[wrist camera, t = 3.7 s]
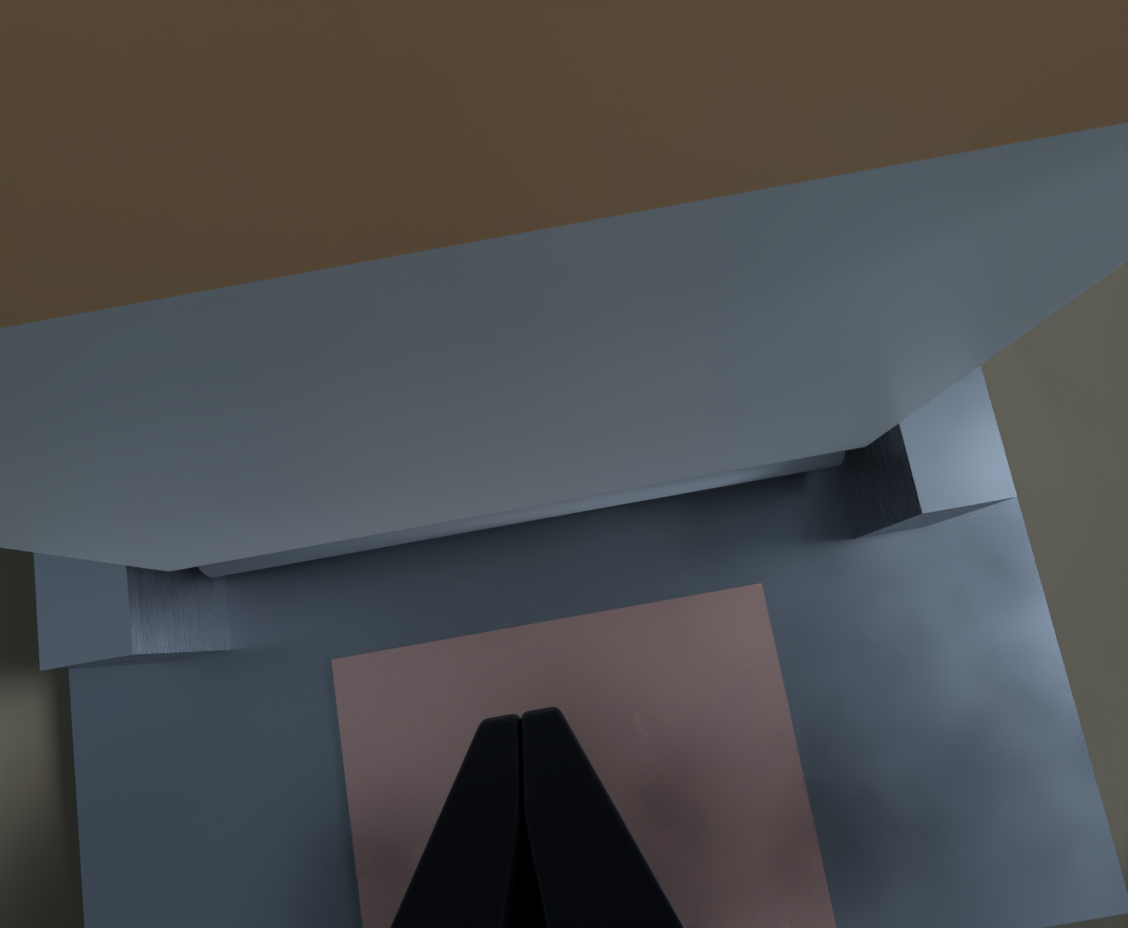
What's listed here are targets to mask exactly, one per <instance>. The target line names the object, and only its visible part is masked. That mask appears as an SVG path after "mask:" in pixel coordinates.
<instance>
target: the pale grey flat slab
mask: <svg viewBox="0 0 1128 928" xmlns="http://www.w3.org/2000/svg"><path fill="white" fill-rule="evenodd" d="M1126 261H1128V0H0V548H6V549H14V550H21V551H28V552H35V553H42V554H49V555H56V556H63V557H70V558H77V559H84V560H91V561H98V562H105V563H112V564H119V565H126V566H133V567H140V568H148V569H155V570H162V571H175V570H180V569H186V568H191V567H197V566H198V567H199V569H200V570H201V571H202V572H203V573H204V574H205V575H206V576H208V577H211V578H214V577H219V576H225V575H231V574H236V573H242V572H247V571H253V570H259V569H264V568H270V567H275V566H281V565H287V564H292V563H298V562H303V561H309V560H314V559H320V558H326V557H331V556H337V555H342V554H348V553H354V552H359V551H365V550H370V549H376V548H382V547H387V546H393V545H398V544H404V543H409V542H415V541H421V540H426V539H432V538H437V537H443V536H449V535H454V534H460V533H465V532H471V531H477V530H482V529H488V528H493V527H499V526H504V525H510V524H516V523H521V522H527V521H532V520H538V519H544V518H549V517H555V516H560V515H566V514H572V513H577V512H583V511H588V510H594V509H599V508H605V507H611V506H616V505H622V504H627V503H633V502H639V501H644V500H650V499H655V498H661V497H667V496H672V495H678V494H683V493H689V492H695V491H700V490H706V489H711V488H717V487H722V486H728V485H734V484H739V483H745V482H750V481H756V480H762V479H767V478H773V477H778V476H784V475H790V474H795V473H801V472H806V471H812V470H817V469H823V468H829V467H834V466H839V465H841V464H842V462H843V460H844V456H845V451H846V450H850V449H856V448H861V447H866V446H868V445H869V444H870V443H872V442H873V441H875V440H876V439H877V438H879V437H880V436H882V435H883V434H884V433H886V432H887V431H889V430H890V429H891V428H893V427H894V426H896V425H897V424H899V423H900V422H901V421H903V420H904V419H906V418H907V417H908V416H910V415H911V414H913V413H914V412H915V411H917V410H918V409H920V408H921V407H922V406H924V405H925V404H927V403H928V402H929V401H931V400H932V399H934V398H935V397H937V396H938V395H939V394H941V393H942V392H944V391H945V390H946V389H948V388H949V387H951V386H952V385H953V384H955V383H956V382H958V381H959V380H960V379H962V378H963V377H965V376H966V375H967V374H969V373H970V372H972V371H973V370H975V369H976V368H977V367H979V366H980V365H982V364H983V363H984V362H986V361H987V360H989V359H990V358H991V357H993V356H994V355H996V354H997V353H998V352H1000V351H1001V350H1003V349H1004V348H1005V347H1007V346H1008V345H1010V344H1011V343H1013V342H1014V341H1015V340H1017V339H1018V338H1020V337H1021V336H1022V335H1024V334H1025V333H1027V332H1028V331H1029V330H1031V329H1032V328H1034V327H1035V326H1036V325H1038V324H1039V323H1041V322H1042V321H1043V320H1045V319H1046V318H1048V317H1049V316H1050V315H1052V314H1053V313H1055V312H1056V311H1058V310H1059V309H1060V308H1062V307H1063V306H1065V305H1066V304H1067V303H1069V302H1070V301H1072V300H1073V299H1074V298H1076V297H1077V296H1079V295H1080V294H1081V293H1083V292H1084V291H1086V290H1087V289H1088V288H1090V287H1091V286H1093V285H1094V284H1096V283H1097V282H1098V281H1100V280H1101V279H1103V278H1104V277H1105V276H1107V275H1108V274H1110V273H1111V272H1112V271H1114V270H1115V269H1117V268H1118V267H1119V266H1121V265H1122V264H1124V263H1125V262H1126Z"/></svg>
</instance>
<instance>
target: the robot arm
mask: <svg viewBox="0 0 1128 928" xmlns="http://www.w3.org/2000/svg"><path fill="white" fill-rule="evenodd" d="M390 928H685V927H684V925H683V923H682V921H681V920H680V918H679V916H678V914H677V913H676V911H675V909H674V907H673V906H672V904H671V902H670V900H669V899H668V897H667V895H666V893H665V892H664V890H663V888H662V886H661V885H660V883H659V881H658V879H657V878H656V876H655V874H654V872H653V871H652V869H651V867H650V865H649V864H648V862H647V860H646V858H645V857H644V855H643V853H642V851H641V850H640V848H639V846H638V844H637V843H636V841H635V839H634V837H633V836H632V834H631V832H630V830H629V829H628V827H627V825H626V823H625V822H624V820H623V818H622V816H621V815H620V813H619V811H618V809H617V808H616V806H615V804H614V802H613V801H612V799H611V797H610V795H609V794H608V792H607V790H606V788H605V787H604V785H603V783H602V781H601V780H600V778H599V776H598V774H597V773H596V771H595V769H594V767H593V766H592V764H591V762H590V760H589V759H588V757H587V755H586V753H585V752H584V750H583V748H582V746H581V745H580V743H579V741H578V739H577V738H576V736H575V734H574V732H573V731H572V729H571V727H570V725H569V724H568V722H567V720H566V718H565V717H564V715H563V713H562V712H561V710H560V709H559V708H557V707H548V708H542V709H536V710H531V711H526V712H524V713H523V714H522V717H521V718H520V716H519V715H517V714H508V715H502V716H497V717H491V718H487V719H484V720H483V721H482V722H481V723H480V724H479V726H478V728H477V730H476V732H475V735H474V737H473V739H472V741H471V744H470V746H469V748H468V751H467V753H466V755H465V757H464V760H463V762H462V764H461V767H460V769H459V771H458V773H457V776H456V778H455V780H454V783H453V785H452V787H451V789H450V792H449V794H448V796H447V799H446V801H445V803H444V805H443V808H442V810H441V812H440V815H439V817H438V819H437V821H436V824H435V826H434V828H433V831H432V833H431V835H430V837H429V840H428V842H427V844H426V847H425V849H424V851H423V853H422V856H421V858H420V860H419V863H418V865H417V867H416V869H415V872H414V874H413V876H412V879H411V881H410V883H409V885H408V888H407V890H406V892H405V895H404V897H403V899H402V902H401V904H400V906H399V908H398V911H397V913H396V915H395V918H394V920H393V922H392V924H391V927H390Z"/></svg>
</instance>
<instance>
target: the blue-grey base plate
mask: <svg viewBox="0 0 1128 928" xmlns="http://www.w3.org/2000/svg"><path fill="white" fill-rule="evenodd" d="M34 571H35V589H36V607H37V626H38V644H39V663H40V671H46V670H61V669H69V684H70V700H71V717H72V733H73V749H74V766H75V782H76V799H77V815H78V832H79V848H80V865H81V881H82V898H83V914H84V928H390V927H391V924H392V922H393V920H394V918H395V915H396V913H397V911H398V908H399V906H400V904H401V902H402V899H403V897H404V895H405V892H406V890H407V888H408V885H409V883H410V881H411V879H412V876H413V874H414V872H415V869H416V867H417V865H418V863H419V860H420V858H421V856H422V853H423V851H424V849H425V847H426V844H427V842H428V840H429V837H430V835H431V833H432V831H433V828H434V826H435V824H436V821H437V819H438V817H439V815H440V812H441V810H442V808H443V805H444V803H445V801H446V799H447V796H448V794H449V792H450V789H451V787H452V785H453V783H454V780H455V778H456V776H457V773H458V771H459V769H460V767H461V764H462V762H463V760H464V757H465V755H466V753H467V751H468V748H469V746H470V744H471V741H472V739H473V737H474V735H475V732H476V730H477V728H478V726H479V724H480V723H481V722H482V721H483V720H484V719H487V718H491V717H497V716H502V715H508V714H517V715H519V716H520V718H521V717H522V714H523V713H524V712H526V711H531V710H536V709H542V708H548V707H557V708H559V709H560V710H561V712H562V713H563V715H564V717H565V718H566V720H567V722H568V724H569V725H570V727H571V729H572V731H573V732H574V734H575V736H576V738H577V739H578V741H579V743H580V745H581V746H582V748H583V750H584V752H585V753H586V755H587V757H588V759H589V760H590V762H591V764H592V766H593V767H594V769H595V771H596V773H597V774H598V776H599V778H600V780H601V781H602V783H603V785H604V787H605V788H606V790H607V792H608V794H609V795H610V797H611V799H612V801H613V802H614V804H615V806H616V808H617V809H618V811H619V813H620V815H621V816H622V818H623V820H624V822H625V823H626V825H627V827H628V829H629V830H630V832H631V834H632V836H633V837H634V839H635V841H636V843H637V844H638V846H639V848H640V850H641V851H642V853H643V855H644V857H645V858H646V860H647V862H648V864H649V865H650V867H651V869H652V871H653V872H654V874H655V876H656V878H657V879H658V881H659V883H660V885H661V886H662V888H663V890H664V892H665V893H666V895H667V897H668V899H669V900H670V902H671V904H672V906H673V907H674V909H675V911H676V913H677V914H678V916H679V918H680V920H681V921H682V923H683V925H684V927H685V928H1045V927H1051V926H1057V925H1062V924H1068V923H1074V922H1080V921H1085V920H1091V919H1097V918H1103V917H1109V916H1114V915H1120V914H1126V913H1128V893H1127V889H1126V885H1125V882H1124V878H1123V875H1122V871H1121V868H1120V864H1119V860H1118V857H1117V853H1116V850H1115V846H1114V843H1113V839H1112V835H1111V832H1110V828H1109V825H1108V821H1107V817H1106V814H1105V810H1104V807H1103V803H1102V800H1101V796H1100V792H1099V789H1098V785H1097V782H1096V778H1095V775H1094V771H1093V767H1092V764H1091V760H1090V757H1089V753H1088V749H1087V746H1086V742H1085V739H1084V735H1083V732H1082V728H1081V724H1080V721H1079V717H1078V714H1077V710H1076V707H1075V703H1074V699H1073V696H1072V692H1071V689H1070V685H1069V682H1068V678H1067V674H1066V671H1065V667H1064V664H1063V660H1062V656H1061V653H1060V649H1059V646H1058V642H1057V639H1056V635H1055V631H1054V628H1053V624H1052V621H1051V617H1050V614H1049V610H1048V606H1047V603H1046V599H1045V596H1044V592H1043V588H1042V585H1041V581H1040V578H1039V574H1038V571H1037V567H1036V563H1035V560H1034V556H1033V553H1032V549H1031V546H1030V542H1029V538H1028V535H1027V531H1026V528H1025V524H1024V521H1023V517H1022V513H1021V510H1020V506H1019V503H1018V499H1017V494H1016V491H1015V487H1014V484H1013V480H1012V476H1011V473H1010V469H1009V466H1008V462H1007V458H1006V455H1005V451H1004V448H1003V444H1002V441H1001V437H1000V433H999V430H998V426H997V423H996V419H995V416H994V412H993V408H992V405H991V401H990V398H989V394H988V391H987V387H986V383H985V380H984V376H983V373H982V369H981V365H980V366H979V367H977V368H976V369H975V370H973V371H972V372H970V373H969V374H967V375H966V376H965V377H963V378H962V379H960V380H959V381H958V382H956V383H955V384H953V385H952V386H951V387H949V388H948V389H946V390H945V391H944V392H942V393H941V394H939V395H938V396H937V397H935V398H934V399H932V400H931V401H929V402H928V403H927V404H925V405H924V406H922V407H921V408H920V409H918V410H917V411H915V412H914V413H913V414H911V415H910V416H908V417H907V418H906V419H904V420H903V421H901V422H900V423H899V424H897V425H896V426H894V427H893V428H891V429H890V430H889V431H887V432H886V433H884V434H883V435H882V436H880V437H879V438H877V439H876V440H875V441H873V442H872V443H870V444H869V445H868V446H866V447H861V448H856V449H850V450H846V451H845V456H844V460H843V462H842V464H841V465H839V466H834V467H829V468H823V469H817V470H812V471H806V472H801V473H795V474H790V475H784V476H778V477H773V478H767V479H762V480H756V481H750V482H745V483H739V484H734V485H728V486H722V487H717V488H711V489H706V490H700V491H695V492H689V493H683V494H678V495H672V496H667V497H661V498H655V499H650V500H644V501H639V502H633V503H627V504H622V505H616V506H611V507H605V508H599V509H594V510H588V511H583V512H577V513H572V514H566V515H560V516H555V517H549V518H544V519H538V520H532V521H527V522H521V523H516V524H510V525H504V526H499V527H493V528H488V529H482V530H477V531H471V532H465V533H460V534H454V535H449V536H443V537H437V538H432V539H426V540H421V541H415V542H409V543H404V544H398V545H393V546H387V547H382V548H376V549H370V550H365V551H359V552H354V553H348V554H342V555H337V556H331V557H326V558H320V559H314V560H309V561H303V562H298V563H292V564H287V565H281V566H275V567H270V568H264V569H259V570H253V571H247V572H242V573H236V574H231V575H225V576H219V577H214V578H211V577H208V576H206V575H205V574H204V573H203V572H202V571H201V570H200V569H199V567H198V566H197V567H191V568H186V569H180V570H175V571H162V570H155V569H148V568H140V567H133V566H126V565H119V564H112V563H105V562H98V561H91V560H84V559H77V558H70V557H63V556H56V555H49V554H42V553H35V552H34Z"/></svg>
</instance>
